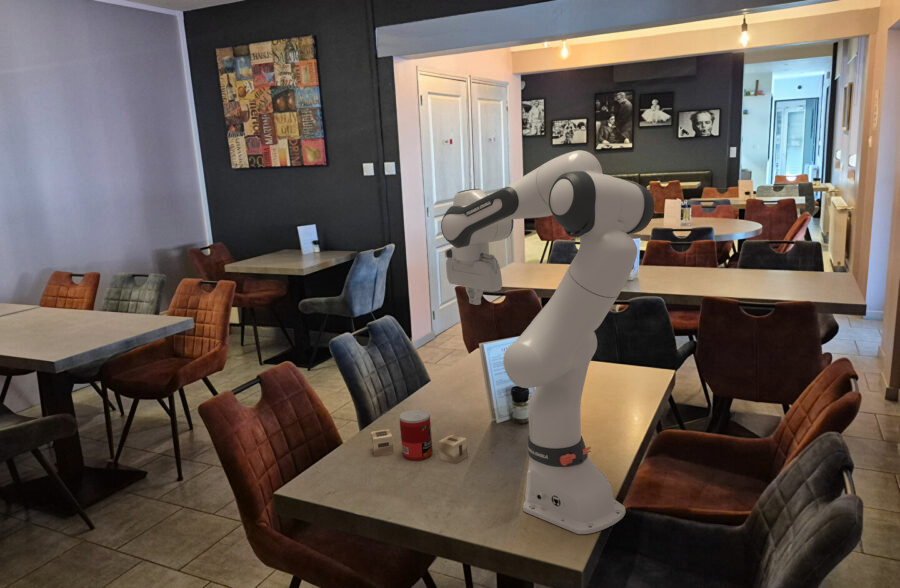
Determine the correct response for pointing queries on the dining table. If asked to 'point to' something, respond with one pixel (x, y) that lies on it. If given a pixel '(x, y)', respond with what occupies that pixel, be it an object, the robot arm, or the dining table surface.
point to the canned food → (416, 434)
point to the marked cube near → (453, 449)
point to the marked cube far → (382, 442)
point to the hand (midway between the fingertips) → (475, 303)
